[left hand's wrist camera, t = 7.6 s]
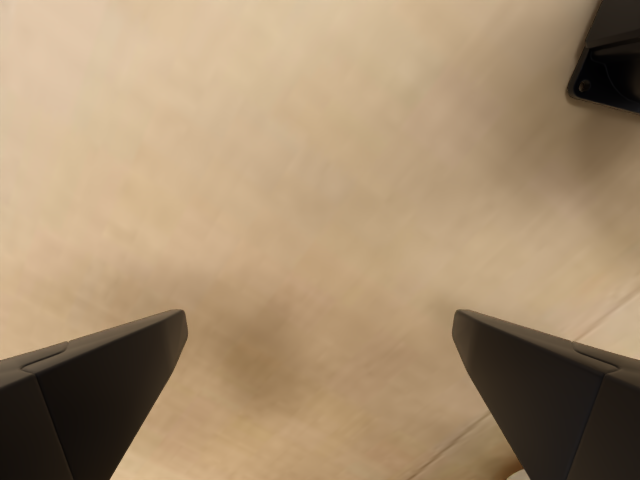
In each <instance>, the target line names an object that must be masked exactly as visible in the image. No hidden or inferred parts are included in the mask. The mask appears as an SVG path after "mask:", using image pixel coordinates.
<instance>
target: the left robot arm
mask: <svg viewBox="0 0 640 480" xmlns="http://www.w3.org/2000/svg"><path fill="white" fill-rule="evenodd" d="M581 82H583V83H584V88H583V90H582V91H579V85H580V83H581ZM568 94H569V95H570V96H571V97H572V98H575V99H579V100H583V101H587V102H591V103H595V104H599V105H603V106H606V107H610V108H614V109H618V110H622V111H626V112H630V113H634V114H638V115H640V0H603V1H602V3H601V6H600V8H599V10H598V13H597V15H596V17H595V20H594V22H593V24H592V26H591V29H590V31H589V33H588V36H587V38H586V40H585V48H584V50H583V52H582V55H581V57H580V59H579V62H578V64H577V66H576V68H575V71H574V73H573V75H572V78H571V80H570V82H569V85H568ZM187 337H188V328H187V322H186V316H185V312H184V311H183V310H169V311H166V312H162V313H159V314H156V315H152V316H149V317H146V318H143V319H139V320H136V321H133V322H130V323H126V324H123V325H120V326H116V327H113V328H110V329H107V330H103V331H100V332H97V333H94V334H90V335H87V336H84V337H80V338H77V339H74V340H71V341H69V342H67V341H66V342H63V343H59V344H56V345H53V346H49V347H46V348H42V349H39V350H36V351H32V352H29V353H25V354H22V355H18V356H14V357H11V358H7V359H3V360H0V480H110V478H111V477H112V475H113V473H114V472H115V470H116V468H117V466H118V465H119V463H120V461H121V460H122V458H123V456H124V454H125V453H126V451H127V449H128V448H129V446H130V444H131V443H132V441H133V439H134V437H135V436H136V434H137V432H138V431H139V429H140V427H141V426H142V424H143V422H144V420H145V419H146V417H147V415H148V414H149V412H150V410H151V409H152V407H153V405H154V403H155V402H156V400H157V398H158V397H159V395H160V393H161V391H162V390H163V388H164V386H165V385H166V383H167V381H168V380H169V378H170V376H171V374H172V372H173V370H174V368H175V366H176V364H177V361H178V359H179V357H180V354H181V352H182V350H183V347H184V345H185V343H186V340H187ZM452 337H453V340H454V343H455V345H456V347H457V350H458V352H459V354H460V357H461V359H462V361H463V364H464V366H465V368H466V370H467V372H468V374H469V376H470V378H471V380H472V381H473V383H474V385H475V386H476V388H477V390H478V391H479V393H480V395H481V397H482V398H483V400H484V402H485V403H486V405H487V407H488V409H489V410H490V412H491V414H492V415H493V417H494V419H495V420H496V422H497V424H498V426H499V427H500V429H501V431H502V432H503V434H504V436H505V437H506V439H507V441H508V443H509V444H510V446H511V448H512V449H513V451H514V453H515V454H516V456H517V458H518V460H519V461H520V463H521V465H522V466H523V468H524V470H525V472H526V473H527V475H528V477H529V478H530V480H640V360H637V359H633V358H629V357H626V356H622V355H618V354H615V353H611V352H608V351H604V350H601V349H598V348H594V347H591V346H587V345H584V344H581V343H577V342H574V341H573V342H571V341H569V340H566V339H563V338H560V337H556V336H553V335H550V334H546V333H543V332H540V331H537V330H533V329H530V328H527V327H524V326H520V325H517V324H514V323H510V322H507V321H504V320H501V319H497V318H494V317H491V316H488V315H484V314H481V313H478V312H474V311H471V310H457V311H456V312H455V316H454V322H453V328H452Z"/></svg>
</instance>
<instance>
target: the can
mask: <svg viewBox="0 0 640 480" xmlns="http://www.w3.org/2000/svg"><path fill="white" fill-rule="evenodd" d="M506 480H530V478H529V477H528V475H527V473H526V472H525V470H524V469H522V470H520V471H518V472H516V473H514V474H512V475H511V476H510V477H508V478H507V479H506Z"/></svg>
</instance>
